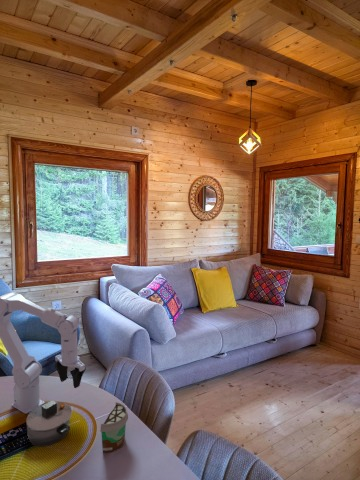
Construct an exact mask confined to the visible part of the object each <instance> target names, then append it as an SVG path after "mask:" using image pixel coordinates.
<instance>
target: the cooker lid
mask: <svg viewBox="0 0 360 480" xmlns="http://www.w3.org/2000/svg"><path fill="white" fill-rule="evenodd" d="M72 411H73V410H72V408H71V405H69V404H67V403H65V402H62V401H61V402H60V401H54V400H51V401H48V402H47V403H44V404H43V405H41V406H39V407H37V408H35V409H34V410H32V411H31V412H30V413H29V412H28V414H27V417H26V418H25V419H26V428H27V427H28V428H29V429H31V430H33V431H37V432H45V431H50V430H54V429H56V428H59V427H61V426H62V425H64V424H65V423H66V422H67V421H68V420H69V421H70V419H71V417H72V413H73V412H72Z"/></svg>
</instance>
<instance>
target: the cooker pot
mask: <svg viewBox="0 0 360 480" xmlns="http://www.w3.org/2000/svg"><path fill="white" fill-rule="evenodd" d="M30 412H31V411H30ZM30 412H28V414H29V413H30ZM70 430H71V426H70V419H69V420H68V421H67V422H66V423H65V424H64V425H62V426H61V427H59V428H56V429H54V430H50V431H45V432H37V431H33V430H31V429H29V428H28V427H27V426H26V432H27V435H26V436H28V438H27V440H28V439H29V440H30V442H31V443H32V444H31V445H32V446H34V447H46V446H47V447H48V446H51V445H55V444H56V443H58V442H60V441H61V440H63V439H64V438H65V437H66V436H67V435H68V433H69V431H70Z"/></svg>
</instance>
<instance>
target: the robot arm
mask: <svg viewBox="0 0 360 480" xmlns="http://www.w3.org/2000/svg"><path fill="white" fill-rule="evenodd" d="M17 311H22V312H24V313H27V314H30V315H32V316H35V317H37V318H40V321H41V323H42V324H45V325H47V326H50V327H51V328H54V329H55V330H57V332H58V333H59V334H60V345H61V346H60V351H61V352H60V354H58V355H56V356H55V357H54V358H55V361H56V362H55V363H54V364H53V367H54V368H55V369H56V371H57V374H58V376H59V379H60V382H61V383H63V382H65V381H67V379H68V368H69V367H70V368H74V369H72V370H70V371H69V372H70V376H71V378H72V384H73V389H77V388H79V387H80V386H81V381H82V377H83V376H84V373H85V372H86V370H87V369H86V365H85V364H84V363H83V362H82V361H81V360H80V356H78V353H79V351H78V327H79V326H80V320H79V318H78V317H77V316H76V315H74V314H67V313H63V312H60V311H58V310H57V309H56V308H55V307H48V308H44V307H42V306H40V305H38V304H37V303H34V302H33V301H30V300H29V299H27V298H25V297H24V296H23V295H22V294H20V293H17V292H15V291H8V292H7V293H5V294H3V295H1V296H0V341H1V342H2V344H3V347H4V348H5V351H6V352H7V354H8V355H9V358H10V360H11V361H12V364H13V367H12V369H11V374H12V376H13V381H14V386H13V403H11V406H12V407H14V409H16V410H18V411H20V412H22V413H23V414H27V415H28V414H29V412H30V411H32V410H34V409H35V408H37V407H39V406H41V405H44V404H46V402H45V401H44V400H42V399H41V398H40V397H41V396H40V375H41V374H42V371H43V366H42V364H41V363H40V362H39V361H37V359H36V358H35V356H33V355H29V353H28V352H27V350H26V348H25V345H24V344H23V342H22V340H21V338H20V337H19V335H18V332H17V331H16V329H15V327H14V325H13V323H12V322H11V316H12V314H13V312H17Z"/></svg>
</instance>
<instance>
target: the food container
mask: <svg viewBox="0 0 360 480" xmlns="http://www.w3.org/2000/svg"><path fill="white" fill-rule="evenodd" d="M128 420H129V413H128V409H127V408H126V406H125V405H124V404H122V403H120V402H117V401H116V402H115V406H114V408H113V409H112V411H110V412H109V414H108V415H107V418H106V419H105V420H104V422H103V423H100V429H99V430H100V431H99V432H101V433H100V434H101V446H102V453H103V454H104V453H106V454H107V453H109V454H110V453H113V452H116V451H119V450H120V449H121V448H122V447H123V446H124V445H125V439H126V426H127V425H126V424H127V422H128Z"/></svg>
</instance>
